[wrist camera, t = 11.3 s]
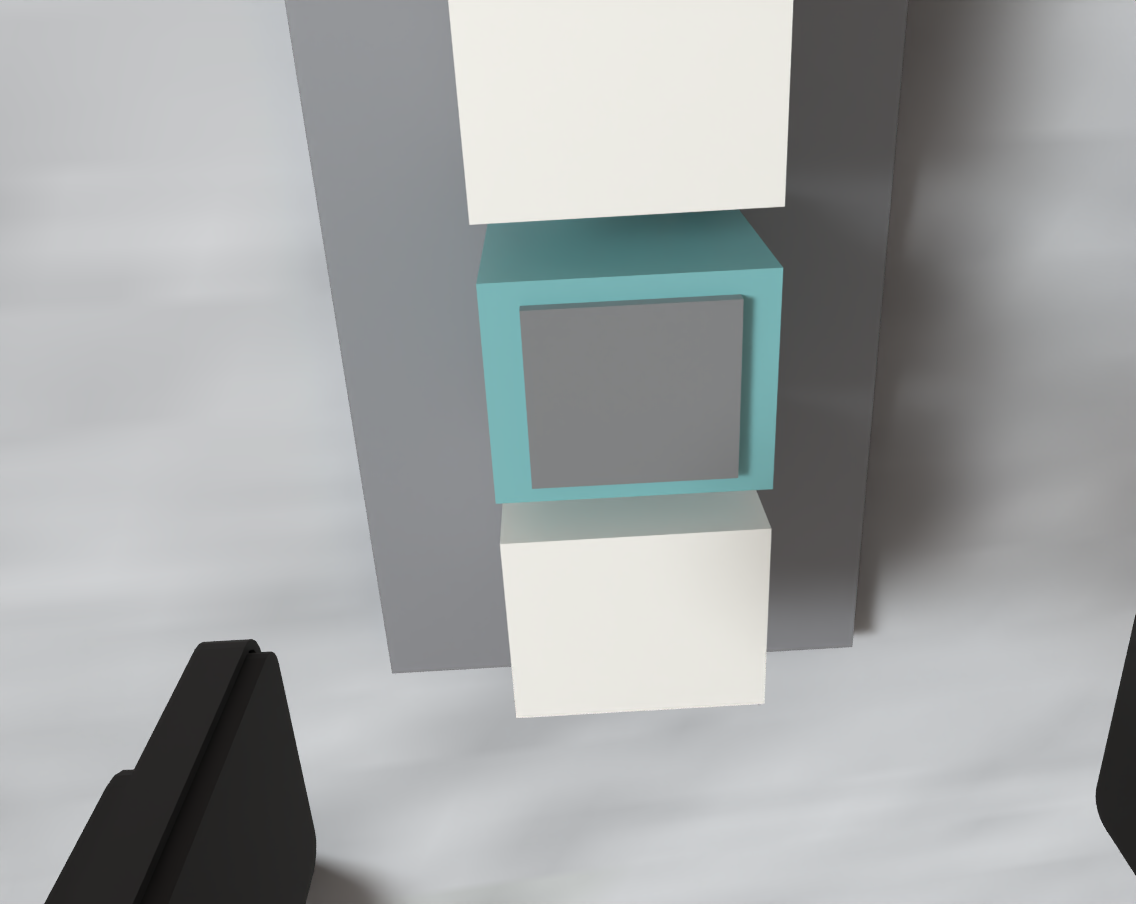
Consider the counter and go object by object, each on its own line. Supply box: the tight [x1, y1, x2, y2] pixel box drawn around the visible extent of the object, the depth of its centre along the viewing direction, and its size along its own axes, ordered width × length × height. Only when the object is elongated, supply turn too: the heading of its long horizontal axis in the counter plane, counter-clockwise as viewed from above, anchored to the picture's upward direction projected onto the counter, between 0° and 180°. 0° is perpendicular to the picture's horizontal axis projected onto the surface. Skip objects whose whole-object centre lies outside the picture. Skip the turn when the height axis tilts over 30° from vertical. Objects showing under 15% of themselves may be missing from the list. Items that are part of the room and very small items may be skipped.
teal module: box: [476, 209, 783, 504], centre depth 22 cm, size 6×4×7 cm
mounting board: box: [285, 0, 908, 673], centre depth 26 cm, size 14×24×1 cm, turn 3°
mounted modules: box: [448, 0, 794, 718], centre depth 22 cm, size 6×18×6 cm, turn 3°
